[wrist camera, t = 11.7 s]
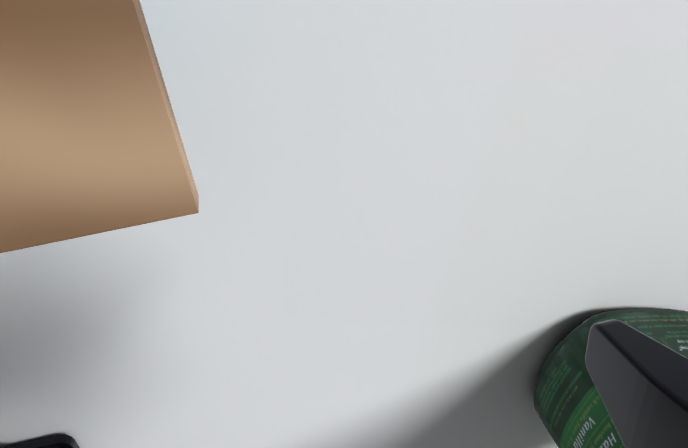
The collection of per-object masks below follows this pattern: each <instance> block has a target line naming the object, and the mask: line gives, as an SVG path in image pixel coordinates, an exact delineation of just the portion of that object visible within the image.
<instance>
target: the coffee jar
mask: <svg viewBox="0 0 688 448" xmlns="http://www.w3.org/2000/svg"><path fill="white" fill-rule="evenodd" d="M611 319H616V320H620V321H622V322H624V323H626V324H627V325H629V326H631V327H633V328H635V329H636V330H638V331H640V332H642V333H644V334H645V335H647V336H649V337H651V338H652V339H654V340H656V341H658V342H660V343H661V344H663V345H665V346H667V347H669V348H670V349H672V350H674V351H676V352H678V353H679V354H681V355H683V356H685V357H687V358H688V312H687V311H679V310H671V309H625V310H614V311H607V312H602V313H599V314H596V315H594V316H591V317H590V318H588V319H587V320H585V321H584V322H583V323H582V324H580V325H579V326H578V327H576V328H575V329H574V330H573V331H571V332H570V333H569V334H568V335H567V336H566V337H565V338H564V339H563V340H562V341H561V342H560V343H559V344H557V345H556V346H555V348H554V349H553V351H552V352H551V353H550V355H549V356H548V358H547V359H546V361H545V363H544V365H543V368H542V370H541V371H540V374H539V376H538V380H537V383H536V387H535V391H534V406H535V409H536V411H537V413H538V414H539V416H540V418H541V420H542V422H543V423H544V425H545V427H546V428H547V430H548V431H549V433H550V435H551V436H552V438H553V439H554V441H555V442H556V444H557V446H558V447H559V448H625V446H624V444H623V442H622V440H621V438H620V436H619V434H618V432H617V430H616V428H615V426H614V424H613V422H612V420H611V418H610V416H609V413H608V411H607V409H606V407H605V405H604V403H603V401H602V399H601V397H600V395H599V393H598V391H597V389H596V387H595V385H594V382H593V380H592V378H591V376H590V374H589V372H588V370H587V367H586V362H585V355H586V349H587V343H588V337H589V332H590V328H591V326H592V325H593V324H595V323H598V322H603V321H607V320H611Z"/></svg>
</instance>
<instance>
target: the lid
mask: <svg viewBox="0 0 688 448" xmlns="http://www.w3.org/2000/svg"><path fill="white" fill-rule="evenodd" d="M195 213H198V193H197V190H196V186H195V183H194V180H193V176H192V173H191V170H190V166H189V163H188V160H187V157H186V153H185V150H184V147H183V143H182V140H181V137H180V133H179V130H178V127H177V123H176V120H175V117H174V114H173V110H172V107H171V104H170V100H169V97H168V94H167V90H166V87H165V84H164V80H163V77H162V74H161V71H160V67H159V64H158V61H157V57H156V54H155V51H154V47H153V44H152V41H151V37H150V34H149V31H148V28H147V24H146V21H145V18H144V14H143V11H142V8H141V4H140V1H139V0H0V253H3V252H8V251H13V250H18V249H23V248H28V247H33V246H38V245H43V244H48V243H52V242H57V241H62V240H67V239H72V238H77V237H82V236H87V235H92V234H97V233H102V232H106V231H111V230H116V229H121V228H126V227H131V226H136V225H141V224H146V223H151V222H156V221H161V220H165V219H170V218H175V217H180V216H185V215H190V214H195Z"/></svg>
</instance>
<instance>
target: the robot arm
mask: <svg viewBox="0 0 688 448" xmlns="http://www.w3.org/2000/svg"><path fill="white" fill-rule="evenodd" d="M585 362H586V367H587V370H588V372H589V374H590V376H591V378H592V380H593V382H594V385H595V387H596V389H597V391H598V393H599V395H600V397H601V399H602V401H603V403H604V405H605V407H606V409H607V411H608V413H609V416H610V418H611V420H612V422H613V424H614V426H615V428H616V430H617V432H618V434H619V436H620V438H621V440H622V442H623V444H624V446H625V448H688V358H687V357H685V356H683V355H681V354H679V353H678V352H676V351H674V350H672V349H670V348H669V347H667V346H665V345H663V344H661V343H660V342H658V341H656V340H654V339H652V338H651V337H649V336H647V335H645V334H644V333H642V332H640V331H638V330H636V329H635V328H633V327H631V326H629V325H627V324H626V323H624V322H622V321H620V320H616V319H611V320H607V321H603V322H598V323H595V324H593V325H592V326H591V328H590V332H589V337H588V343H587V349H586V355H585ZM6 448H79V446H78V445H77V443H76V441H75V440H74V439H73V438H72V437H70V436H68V435H57V436H53V437H48V438H44V439H40V440H36V441H31V442H27V443H23V444H18V445H14V446H10V447H6Z"/></svg>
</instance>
